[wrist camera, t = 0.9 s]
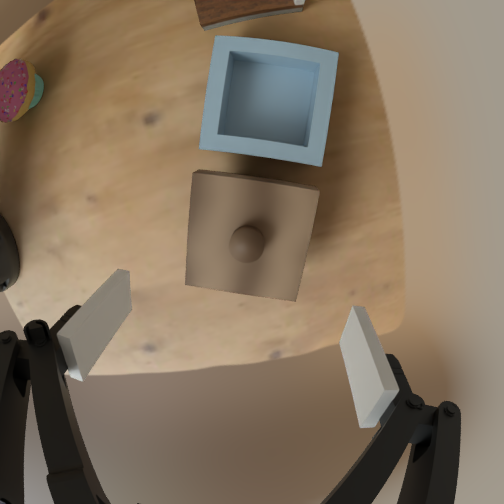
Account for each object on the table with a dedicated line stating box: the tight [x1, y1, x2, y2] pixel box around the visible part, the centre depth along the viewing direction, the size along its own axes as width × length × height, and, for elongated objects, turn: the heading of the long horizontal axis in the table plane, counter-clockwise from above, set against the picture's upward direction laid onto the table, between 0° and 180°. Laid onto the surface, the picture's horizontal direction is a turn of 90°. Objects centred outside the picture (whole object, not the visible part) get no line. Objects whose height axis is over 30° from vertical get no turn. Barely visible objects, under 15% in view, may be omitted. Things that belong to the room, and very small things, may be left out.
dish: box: [199, 36, 339, 167], centre depth 25 cm, size 11×11×5 cm
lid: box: [185, 169, 320, 302], centre depth 27 cm, size 11×11×4 cm
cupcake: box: [0, 59, 44, 122], centre depth 22 cm, size 9×8×12 cm
